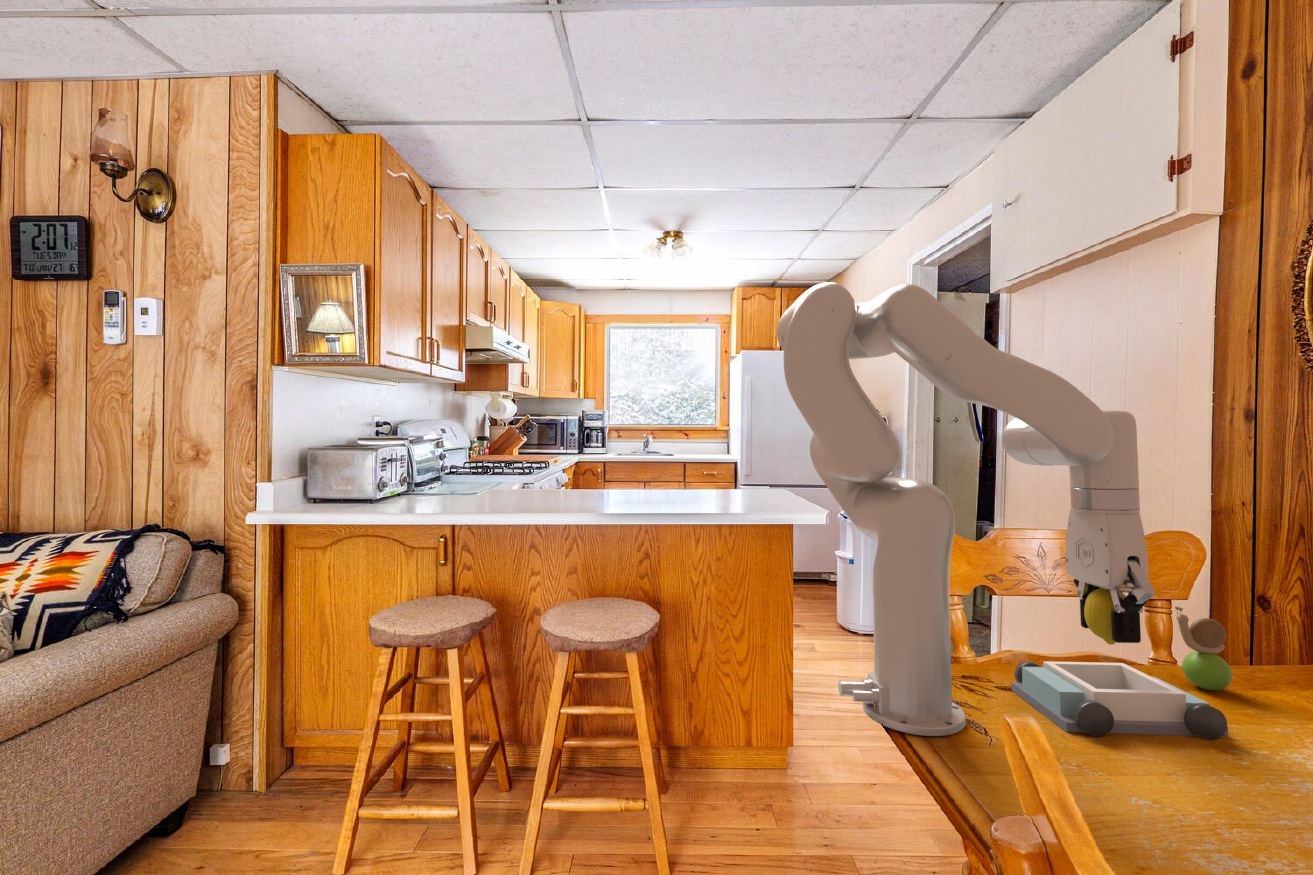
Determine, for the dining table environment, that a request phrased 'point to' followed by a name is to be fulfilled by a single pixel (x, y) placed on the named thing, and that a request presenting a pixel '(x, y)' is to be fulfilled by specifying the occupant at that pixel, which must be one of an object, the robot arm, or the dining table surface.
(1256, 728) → the dining table surface
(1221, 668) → the snail figurine
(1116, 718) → the chassis
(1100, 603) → the lemon
